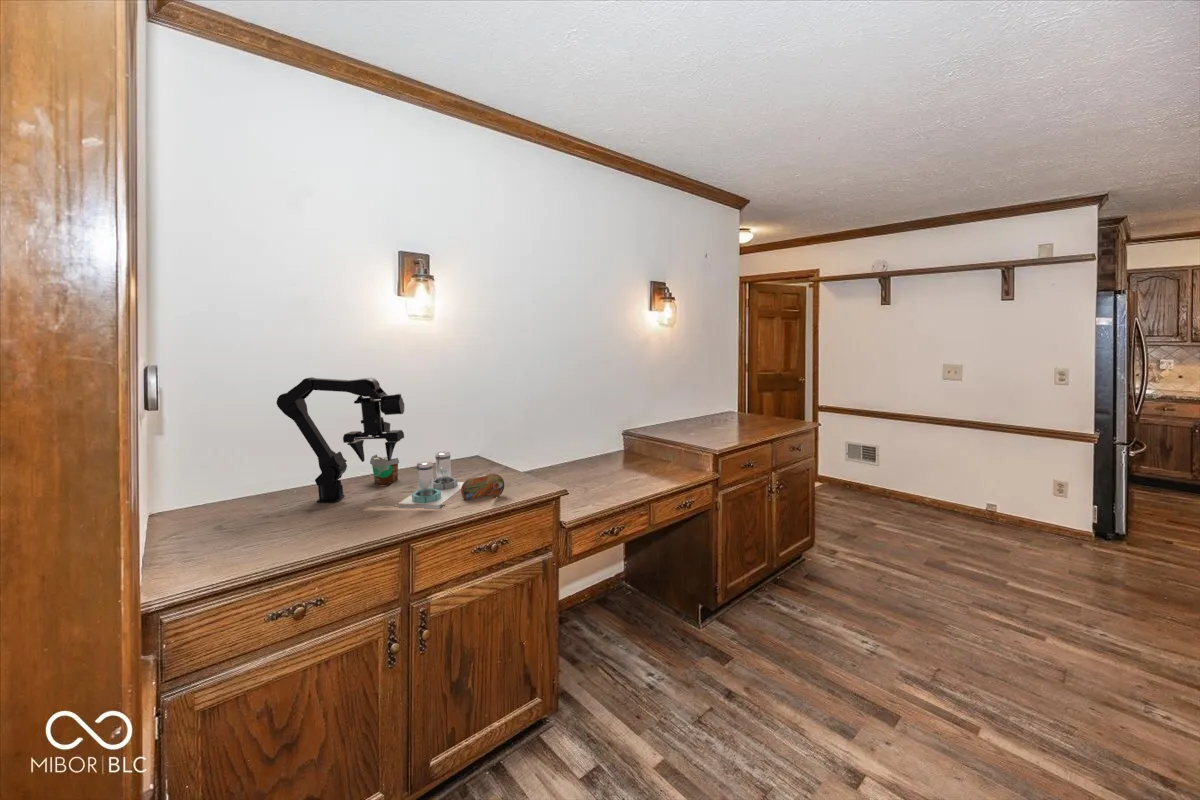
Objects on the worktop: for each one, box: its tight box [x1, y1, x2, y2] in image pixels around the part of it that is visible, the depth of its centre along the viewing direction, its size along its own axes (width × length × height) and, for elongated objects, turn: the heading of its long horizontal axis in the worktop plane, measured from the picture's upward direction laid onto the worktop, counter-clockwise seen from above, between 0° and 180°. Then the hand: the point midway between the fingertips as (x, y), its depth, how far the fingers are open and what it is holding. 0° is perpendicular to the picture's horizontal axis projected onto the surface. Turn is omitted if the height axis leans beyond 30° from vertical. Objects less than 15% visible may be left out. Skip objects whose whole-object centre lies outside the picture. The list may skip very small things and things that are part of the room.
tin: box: [460, 473, 505, 501], centre depth 179 cm, size 15×3×8 cm, turn 129°
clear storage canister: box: [416, 460, 434, 496], centre depth 175 cm, size 5×5×12 cm
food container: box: [369, 454, 400, 486], centre depth 197 cm, size 12×6×10 cm, turn 62°
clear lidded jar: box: [435, 451, 452, 484], centre depth 189 cm, size 5×5×12 cm
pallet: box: [397, 476, 465, 510], centre depth 183 cm, size 14×25×4 cm, turn 173°
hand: (376, 461), depth 180 cm, fingers open, 9 cm apart
